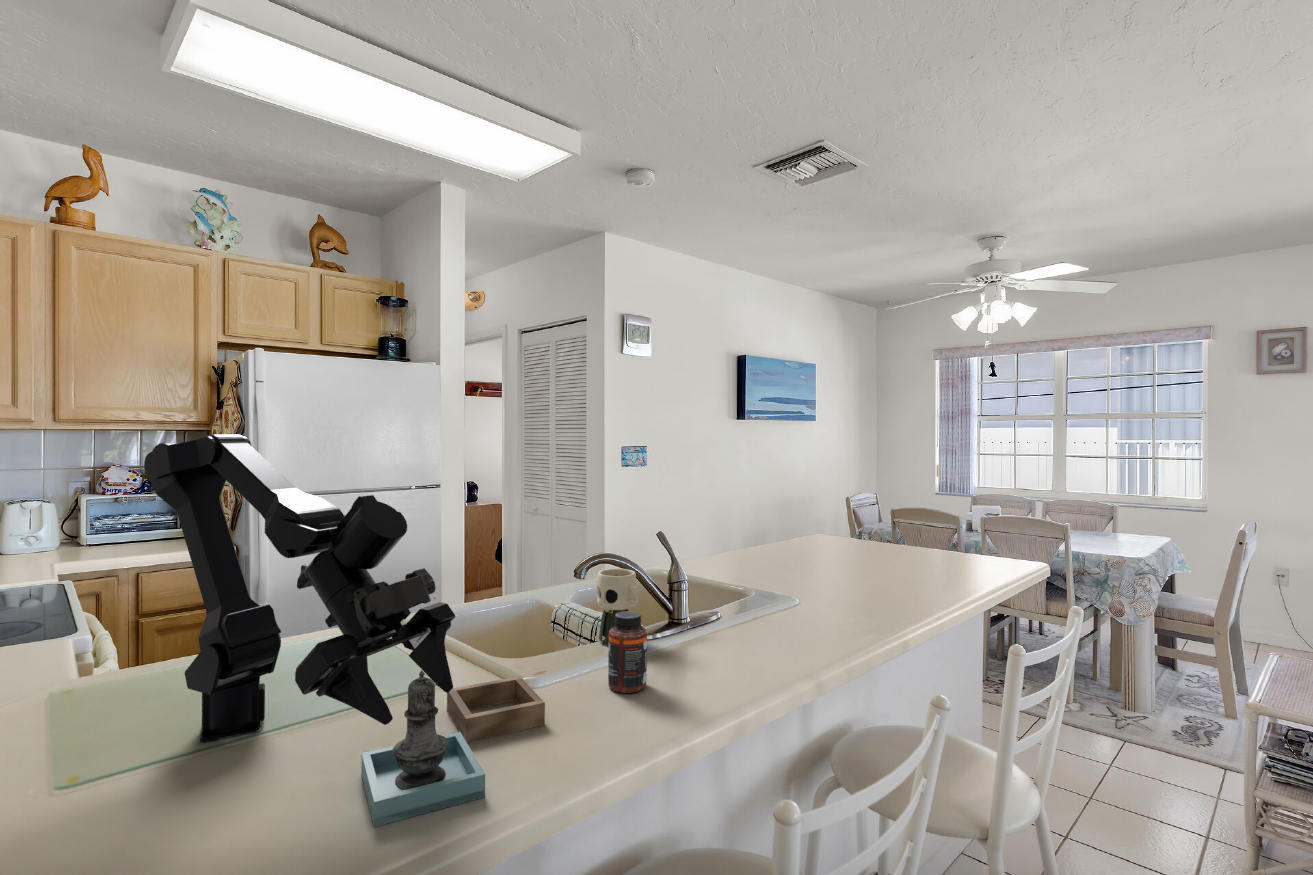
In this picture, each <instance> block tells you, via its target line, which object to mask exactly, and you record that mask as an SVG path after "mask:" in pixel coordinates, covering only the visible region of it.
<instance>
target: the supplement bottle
mask: <svg viewBox="0 0 1313 875" xmlns="http://www.w3.org/2000/svg"><path fill="white" fill-rule="evenodd" d="M615 623H616V624H615V625H614V626H613V627H612V628H611V629H610V631H609V643H608V651H607V652H608V653H607V654H608V659H607V660H608V661H607V662H608V666H607V667H608V668H607V669H608V670H607V672H608V673H607V674H608V676H607V678H608V681H607V682H608V687H609V688H610V689H611V690H612V691H614V692H617V693H621V694H631V693H638V692H640V691H643V689H645V688H646V687H647V676H648V675H647V674H648V673H647V670H648V666H647V664H648V662H647V659H648V657H647V656H648V648H647V647H648V632H647V630H646V628H645V627H644V626H642V624H641V623H642V614H641V613H640V612H637V611H633V610H632V611H631V610H629V611H623V612H619V613H617V614H616V615H615Z"/></svg>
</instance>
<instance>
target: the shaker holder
mask: <svg viewBox="0 0 1313 875" xmlns="http://www.w3.org/2000/svg"><path fill="white" fill-rule="evenodd" d="M513 701H515V702H516V703H517V704H515V705H510V706H505V707H499V708H496V709H491V710H485V711H480V712H476V713H471V711H470V710H473V709H478V708H482V707H488V706H493V705H497V704H502V703H508V702H513ZM446 712H447V713H448V714H449V717H450V718H451V720H452V721H453V723H454V725H455V727H456V729H457V730H458V732H461V734H462V735H463V737H464V739H465V741H466V742H467V743H469V742H474V741H479V740H482V739H487V738H490V737H491V738H492V737H495V736H496V737H497V736H500V735H505V734H509V733H514V732H518V731H523V730H527V729H532V728H537V727H541V726H544V725H545V723H546V721H545V719H546V713H545V712H546V702H545V701H544V700H543V699H542V698H541V697H540V696H539V695H538V694H537V693H536V691H535V690H534V689H533V688H532V687H531V686H530V685H529V684H528V682H526V681H525V680H524V679H523V678H522V677H521V676H514V677H513V676H512V677H508V678H503V679H497V680H491V681H485V682H480V683H475V684H470V685H465V686H464V685H463V686H459V687H453V689H452V690H451V691H450V692H448V693H446Z"/></svg>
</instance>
